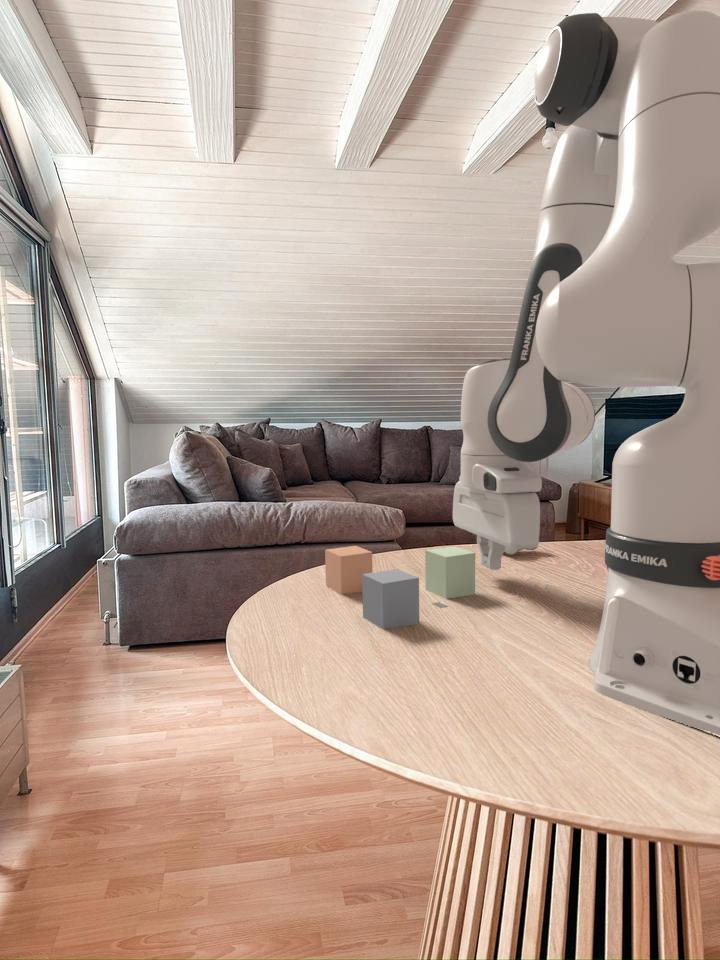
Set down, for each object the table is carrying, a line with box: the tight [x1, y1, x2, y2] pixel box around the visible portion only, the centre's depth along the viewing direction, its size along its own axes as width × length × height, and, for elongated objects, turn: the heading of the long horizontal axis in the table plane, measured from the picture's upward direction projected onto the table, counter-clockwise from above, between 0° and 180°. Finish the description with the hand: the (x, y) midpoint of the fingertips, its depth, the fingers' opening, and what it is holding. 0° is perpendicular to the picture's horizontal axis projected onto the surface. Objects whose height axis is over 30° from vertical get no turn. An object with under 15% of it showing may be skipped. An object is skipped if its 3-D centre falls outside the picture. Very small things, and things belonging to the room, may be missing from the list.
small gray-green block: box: [431, 601, 449, 609], centre depth 85 cm, size 2×1×1 cm, turn 28°
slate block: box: [362, 568, 420, 630], centre depth 78 cm, size 5×5×6 cm
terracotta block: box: [324, 545, 373, 595], centre depth 92 cm, size 5×5×6 cm
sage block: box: [424, 546, 476, 600], centre depth 91 cm, size 5×5×6 cm
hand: (490, 567), depth 94 cm, fingers closed
